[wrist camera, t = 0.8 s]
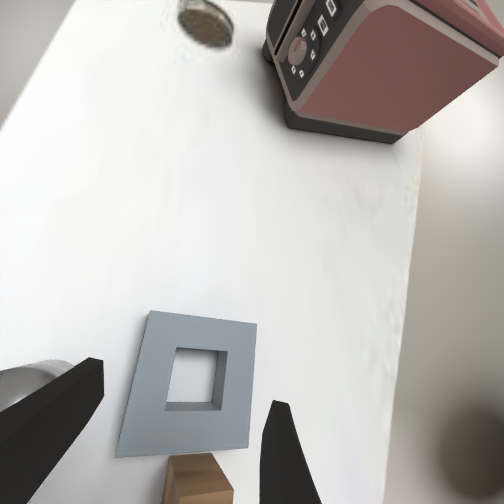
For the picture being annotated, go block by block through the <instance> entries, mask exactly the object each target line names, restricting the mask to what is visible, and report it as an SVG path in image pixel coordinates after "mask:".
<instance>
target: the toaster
mask: <svg viewBox="0 0 504 504" xmlns="http://www.w3.org/2000/svg"><path fill="white" fill-rule="evenodd" d="M262 51H263V54H264V57H265V60H266V61H269V62H272V63H275V66H276V69H277V72H278V75H279V78H280V80H281V83H282V86H283V89H284V92H285V95H286V98H287V101H286V103H285V113H284V117H285V120H286V123H287V125H288V127H290V128H294V129H300V130H307V131H313V132H320V133H326V134H333V135H339V136H346V137H352V138H359V139H365V140H372V141H379V142H385V143H395V142H396V141H398V140H399V139H400V138H402V137H403V136H404V135H406V134H407V133H408V131H411V130H413V129H415V128H418V127H419V126H420V125H422V124H423V123H424V122H425V121H427V120H428V119H429V118H431V117H432V116H433V115H435V114H436V113H437V112H438V111H440V110H441V109H442V108H444V107H445V106H446V105H448V104H449V103H450V102H452V101H453V100H454V99H456V98H457V97H458V96H459V95H461V94H462V93H463V92H465V91H466V90H467V89H469V88H470V87H471V86H473V85H474V84H475V83H477V82H478V81H479V80H481V79H482V78H483V77H485V76H486V75H487V74H489V73H490V72H491V71H492V70H494V69H495V68H496V67H498V65H499V59H500V58H501V57H502V56H504V28H503V26H502V25H501V23H500V22H499V21H498V19H497V17H496V16H495V15H494V13H493V12H492V10H491V9H490V7H489V6H488V4H487V3H486V1H485V0H274V3H273V5H272V8H271V10H270V14H269V17H268V22H267V27H266V40H265V43H264V45H263V48H262Z"/></svg>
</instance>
